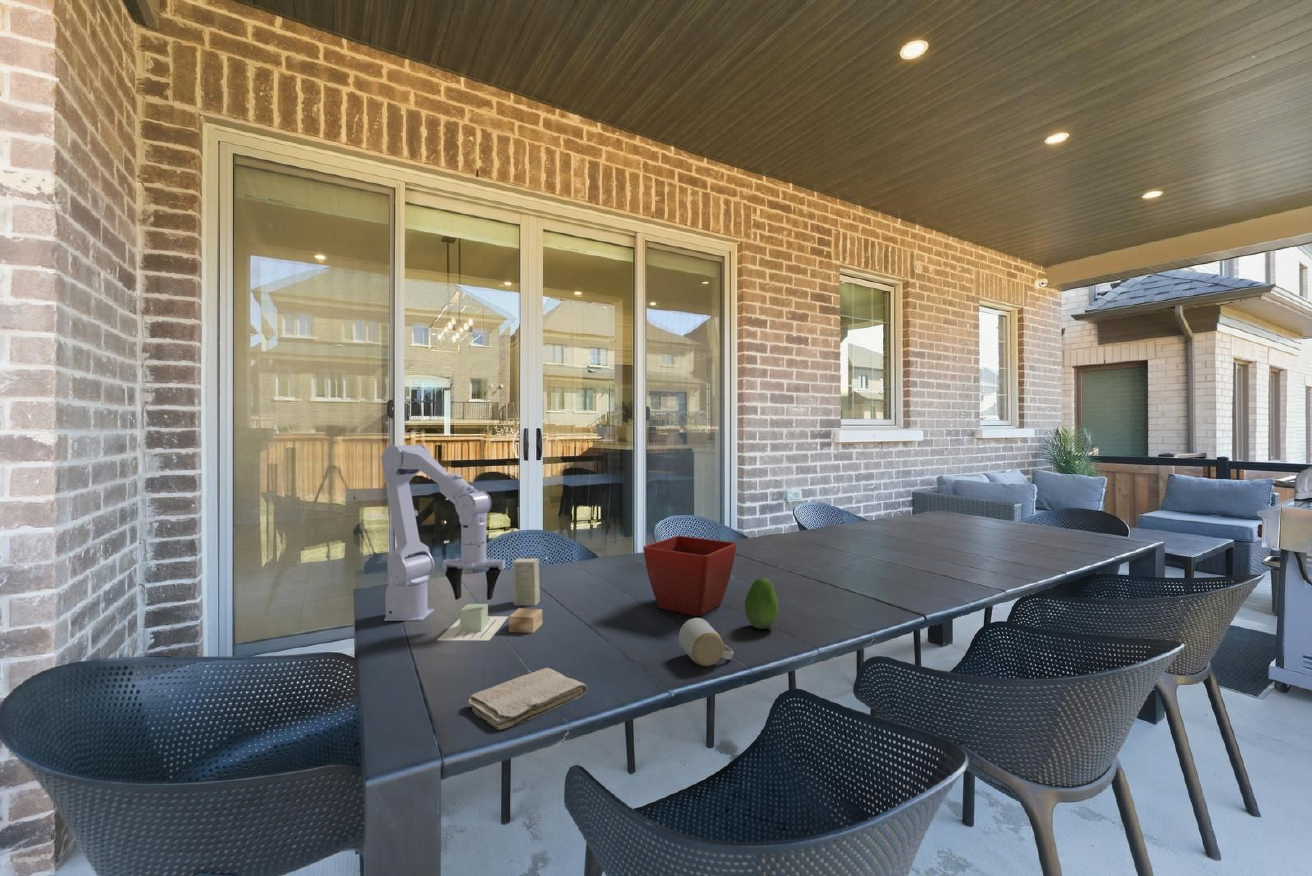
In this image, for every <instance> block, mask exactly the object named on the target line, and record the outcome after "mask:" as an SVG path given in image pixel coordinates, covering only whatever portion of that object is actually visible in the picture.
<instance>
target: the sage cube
mask: <svg viewBox="0 0 1312 876" xmlns="http://www.w3.org/2000/svg"><path fill="white" fill-rule="evenodd" d="M488 606H489V603H467V604H465V606H463V608H462V609H460V610H459V619H460V632H481V631H482V630H483V629H484V628H485V627H486V626H487V625H488V616H489V607H488Z"/></svg>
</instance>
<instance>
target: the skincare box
mask: <svg viewBox="0 0 1312 876" xmlns="http://www.w3.org/2000/svg"><path fill="white" fill-rule="evenodd" d="M512 579H513V582H512V583H513V605H514V606H528V607H529V606H530V607H531V606H533V607H535V606H537V605H538V604H539V602H540V601H541V597H540V596H541V592H540V590H541V589H540V587H541V586H540V560H539V557H537V558H536V557H535V558H533V557H532V558H530V557H529V558H527V557H523V558H521V557H519V558H516V559H515V560H513V561H512Z"/></svg>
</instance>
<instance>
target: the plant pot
mask: <svg viewBox="0 0 1312 876" xmlns="http://www.w3.org/2000/svg"><path fill="white" fill-rule="evenodd" d="M642 549H643V556H644V562H645V565H646V572H647V574H648V578H649V582H650V586H651V589H652V593H653V596H654V597H655V600H656V603H657V606H658V609H661V610H666V611H670V612H675V613H680V614H685V615H690V616H694V617H702V616H703V615H705V614H707V613H709V612H711V611H713V610H714V609H715V608H717V607H719V606H720V605H721V604H722V602H723V599H724V596H725V594H726V591H727V588H728V584H729V581H730V577H731V575H732V570H733V566H734V562H735V556H736V551H737V543H736V542H733V541H732V542H731V541H730V542H729V541H724V540H722V541H721V540H715V539H709V538H708V539H707V538H699V537H690V536H684V535H676V536H673V537H670V538H666V539H663V540H660V541H657V542H654V543H650V544H647V545H644V546H643V548H642Z"/></svg>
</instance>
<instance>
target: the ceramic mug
mask: <svg viewBox="0 0 1312 876" xmlns="http://www.w3.org/2000/svg"><path fill="white" fill-rule="evenodd" d="M678 632H679V633H678V643H679V646H680V648H681V649H682V650H683V652H685V654H687V656H688V657H690V659H691V660H692V662H695V664H697V665H699V666H700V667H701V666H702V667H711V666H713V665H715V664H717V663H718V662H719V661H720V659H724V660H728V661H731V660H732V658H733V656H734V653H735V652H734V650H732V648H731V647H729V646H728V645H726V644H724V642H723V639H722V637H721V636H720V634H719V633H718V632H717V631H716V630H715V629H714V627H712V625H710V623H709V622H708V621H706V620H705V619H703V618H701V617H694V618H690V619H687V620H686V621H685V622H684V624H682V626H681V628H680V630H679V631H678Z"/></svg>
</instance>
